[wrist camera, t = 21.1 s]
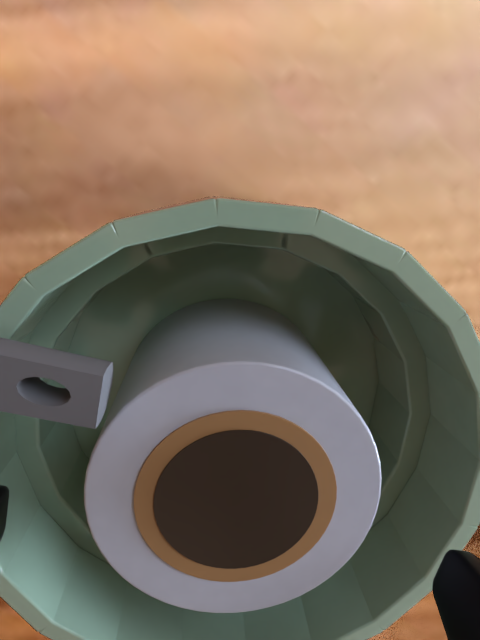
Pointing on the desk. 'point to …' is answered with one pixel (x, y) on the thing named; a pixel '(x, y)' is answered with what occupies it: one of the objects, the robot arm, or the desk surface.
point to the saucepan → (49, 401)
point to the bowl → (331, 346)
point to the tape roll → (230, 464)
